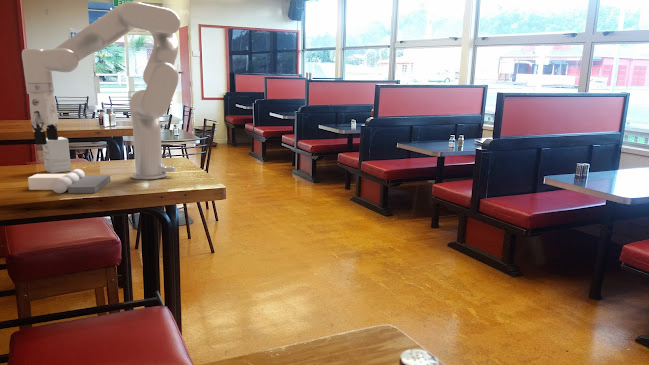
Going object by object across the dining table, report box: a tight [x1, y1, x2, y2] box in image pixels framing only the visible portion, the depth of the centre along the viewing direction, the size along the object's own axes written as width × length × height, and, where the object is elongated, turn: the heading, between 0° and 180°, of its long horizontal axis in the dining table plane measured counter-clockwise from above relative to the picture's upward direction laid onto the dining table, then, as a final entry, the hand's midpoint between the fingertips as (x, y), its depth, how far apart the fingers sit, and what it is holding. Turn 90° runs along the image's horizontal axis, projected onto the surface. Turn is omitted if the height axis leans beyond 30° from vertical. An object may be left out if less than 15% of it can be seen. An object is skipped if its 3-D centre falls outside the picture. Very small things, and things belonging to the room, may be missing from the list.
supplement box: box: [41, 136, 72, 174], centre depth 188 cm, size 7×7×13 cm
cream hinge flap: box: [27, 172, 79, 191], centre depth 163 cm, size 13×6×4 cm, turn 98°
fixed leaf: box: [52, 168, 111, 194], centre depth 164 cm, size 13×18×4 cm
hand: (47, 142), depth 160 cm, fingers open, 9 cm apart
